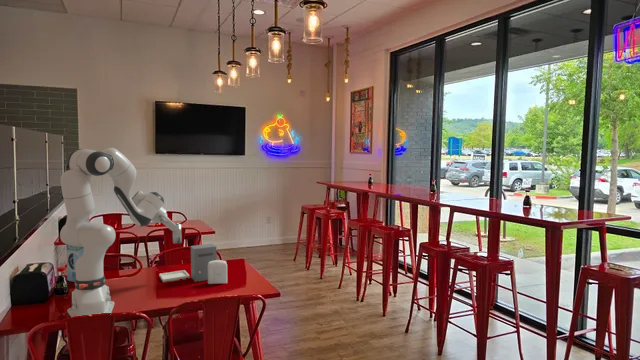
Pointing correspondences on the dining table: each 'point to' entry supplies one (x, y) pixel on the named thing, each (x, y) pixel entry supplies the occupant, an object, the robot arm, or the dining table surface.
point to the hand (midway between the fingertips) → (178, 231)
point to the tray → (174, 276)
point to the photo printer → (217, 272)
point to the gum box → (72, 260)
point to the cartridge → (177, 235)
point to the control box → (201, 260)
